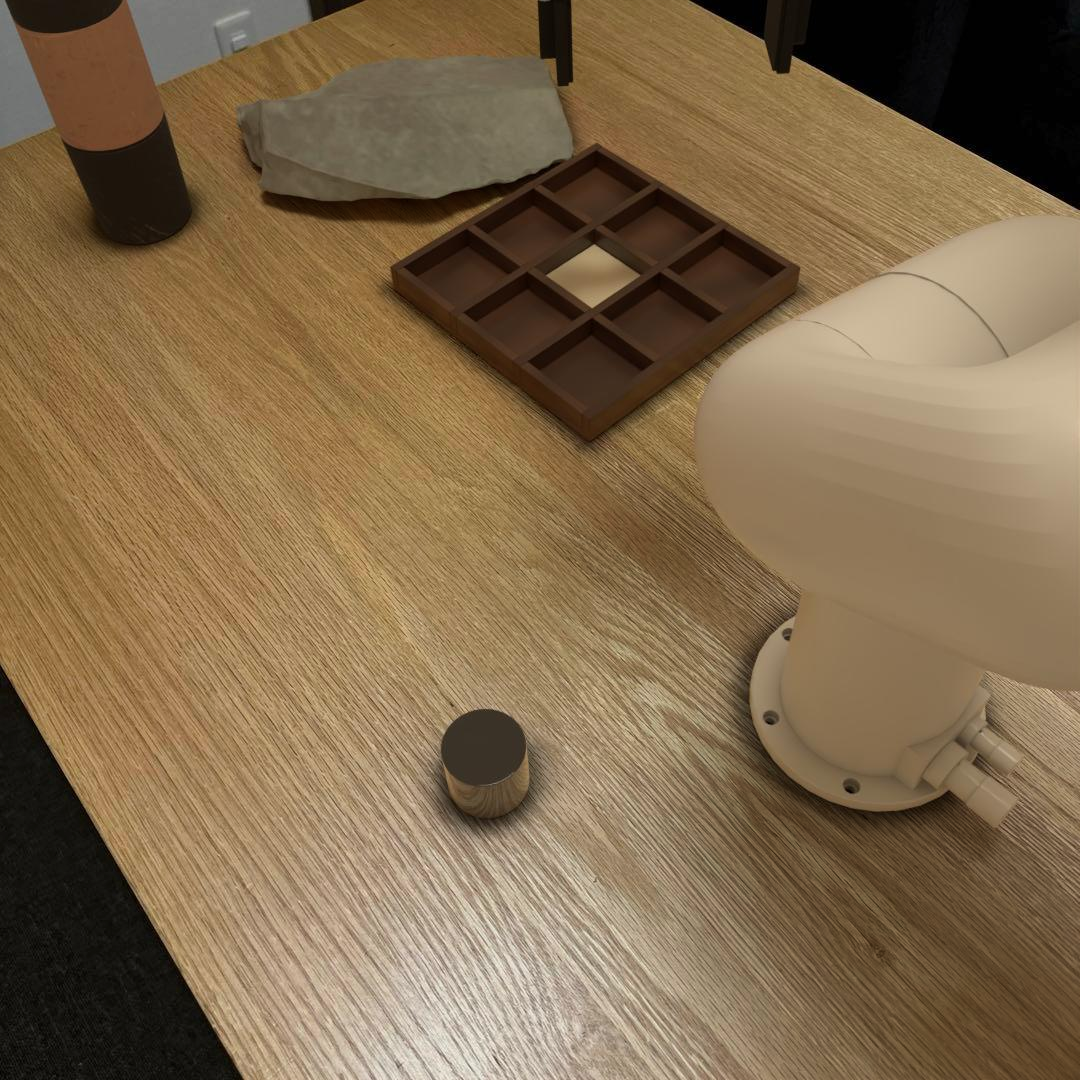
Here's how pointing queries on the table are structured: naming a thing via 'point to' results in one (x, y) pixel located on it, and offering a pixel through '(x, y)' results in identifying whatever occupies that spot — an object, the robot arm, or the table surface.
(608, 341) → the board
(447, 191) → the rock
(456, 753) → the dark cylinder
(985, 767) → the table surface
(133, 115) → the travel mug
